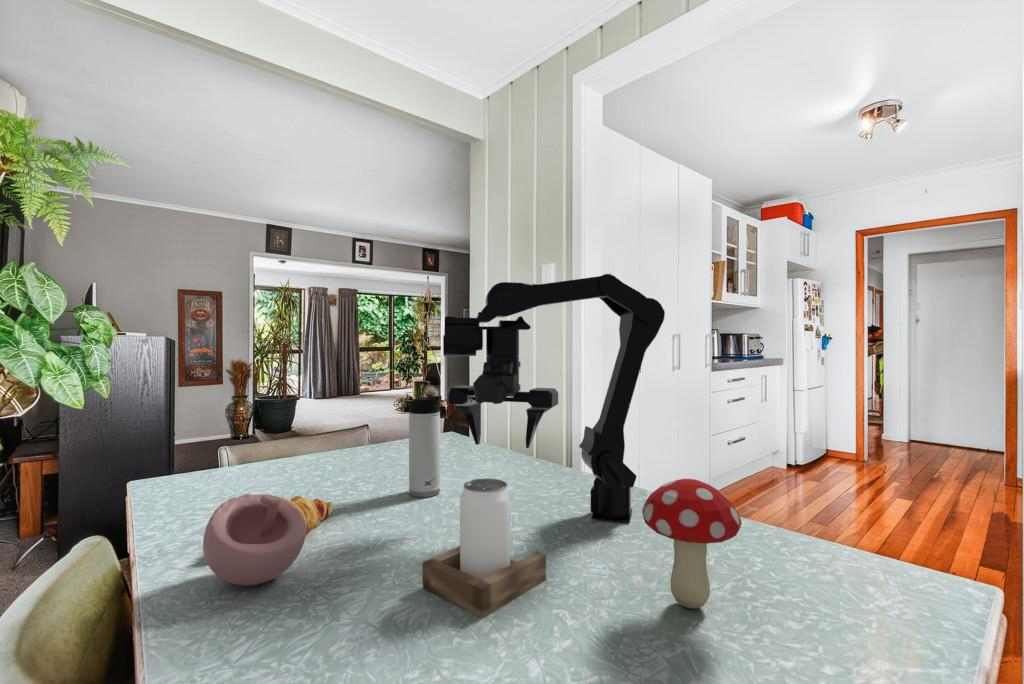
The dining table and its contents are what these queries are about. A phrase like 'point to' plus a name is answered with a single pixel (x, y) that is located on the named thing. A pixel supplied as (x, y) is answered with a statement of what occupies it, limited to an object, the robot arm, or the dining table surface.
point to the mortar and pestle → (253, 538)
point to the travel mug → (424, 446)
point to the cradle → (481, 581)
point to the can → (484, 527)
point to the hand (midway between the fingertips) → (502, 445)
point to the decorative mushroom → (691, 532)
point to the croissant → (312, 510)
